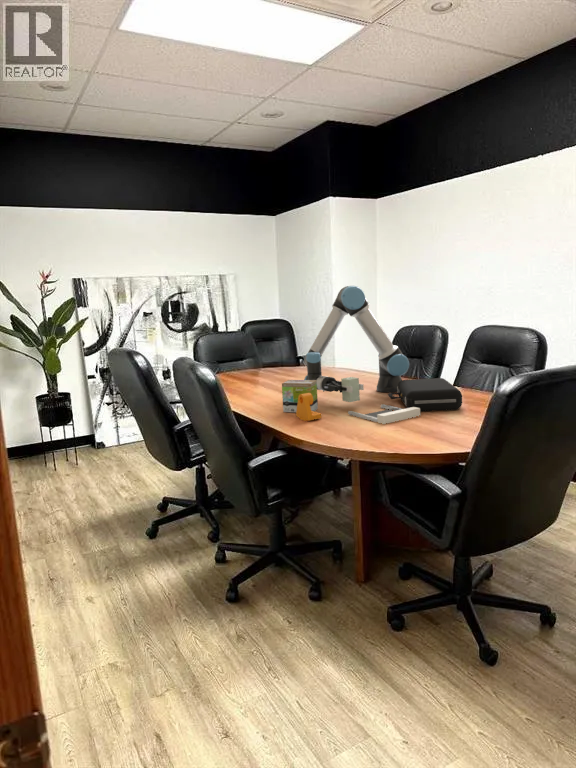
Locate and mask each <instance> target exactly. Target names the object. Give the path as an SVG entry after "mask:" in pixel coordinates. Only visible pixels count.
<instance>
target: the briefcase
mask: <svg viewBox="0 0 576 768" xmlns="http://www.w3.org/2000/svg"><path fill="white" fill-rule="evenodd" d="M397 390H398V392H387V393H388V394H387V395H388V396H387V397H388V398H389V400H397V399H400V400H401V402H402V403H403V404H404V405H405V407H406V408H411V407H417V408H420V412H433V411H432V410H443V411H457V409H458V410H459V409H460V408H461V407H462V405H463V395H462V391H461V390H459V389H458V388H457V387H456V386H454V385H453V384H452V383H450V382H449V381H448V380H446V378H443V377H436V378H435V377H434V378H414V379H413V378H412V379H402V381H400V382H399V383H398V386H397ZM395 395H398V396H395Z"/></svg>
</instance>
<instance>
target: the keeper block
mask: <svg viewBox="0 0 576 768" xmlns="http://www.w3.org/2000/svg"><path fill="white" fill-rule="evenodd" d="M340 381H341V382H342V386H343V385H344V386H351V387H353V392H352V393H351V392H345V391H343V390H342V393H341V396H342V397H341V398H342V401H343V402H347V403H354V402H359V401H361V397H360V396H361V395H360V394H361V393H360V390H359V384H360V379H359V377H354V376H350V377H349V376H347V377H343V378H341V380H340Z"/></svg>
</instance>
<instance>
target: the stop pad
mask: <svg viewBox="0 0 576 768" xmlns="http://www.w3.org/2000/svg"><path fill="white" fill-rule="evenodd" d="M387 412H392V410H388V409H383V410H380V411H374V412H369V413H365V415H368V416H372V417H376V418H377V415H378V414H382V413H387Z"/></svg>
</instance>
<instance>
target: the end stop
mask: <svg viewBox="0 0 576 768" xmlns="http://www.w3.org/2000/svg"><path fill="white" fill-rule="evenodd" d="M419 415H420V416H421V411H420V408H417V407H411V408H407V407H406V408H402V409H401V410H397V411H392V412H387V413H382V414H378V415H377V422H378V424H381V423H382V425H386V423H387V424H390V423H395V421H396V422H399V420H400V421H403V420H404V421H405V420H408V418H409V419H413V418H417V417H416V416H418V417H420V416H419ZM412 417H413V418H412ZM377 422H376V423H377Z"/></svg>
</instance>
